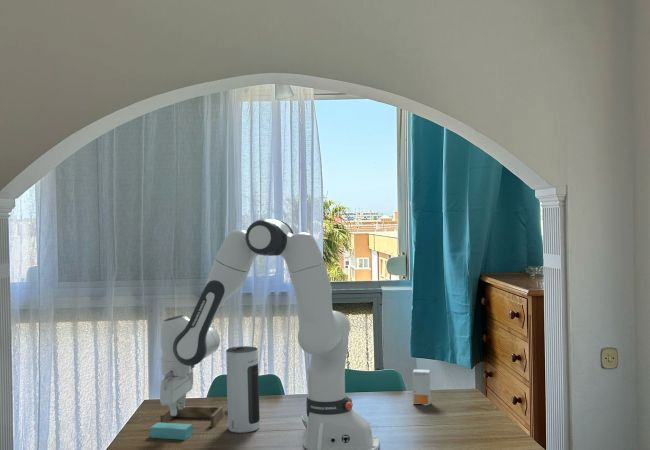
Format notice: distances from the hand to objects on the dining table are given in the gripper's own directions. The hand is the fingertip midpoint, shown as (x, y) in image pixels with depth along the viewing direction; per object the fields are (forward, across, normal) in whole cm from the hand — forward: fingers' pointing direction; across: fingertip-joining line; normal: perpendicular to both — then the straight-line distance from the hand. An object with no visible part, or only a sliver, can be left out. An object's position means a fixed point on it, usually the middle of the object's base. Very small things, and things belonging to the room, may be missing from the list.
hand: (177, 412), depth 202 cm
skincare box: (+9, +40, -76) cm, 87 cm away
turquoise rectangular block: (+8, 0, +2) cm, 8 cm away
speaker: (+8, +9, -18) cm, 22 cm away
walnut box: (+8, +15, +1) cm, 17 cm away
